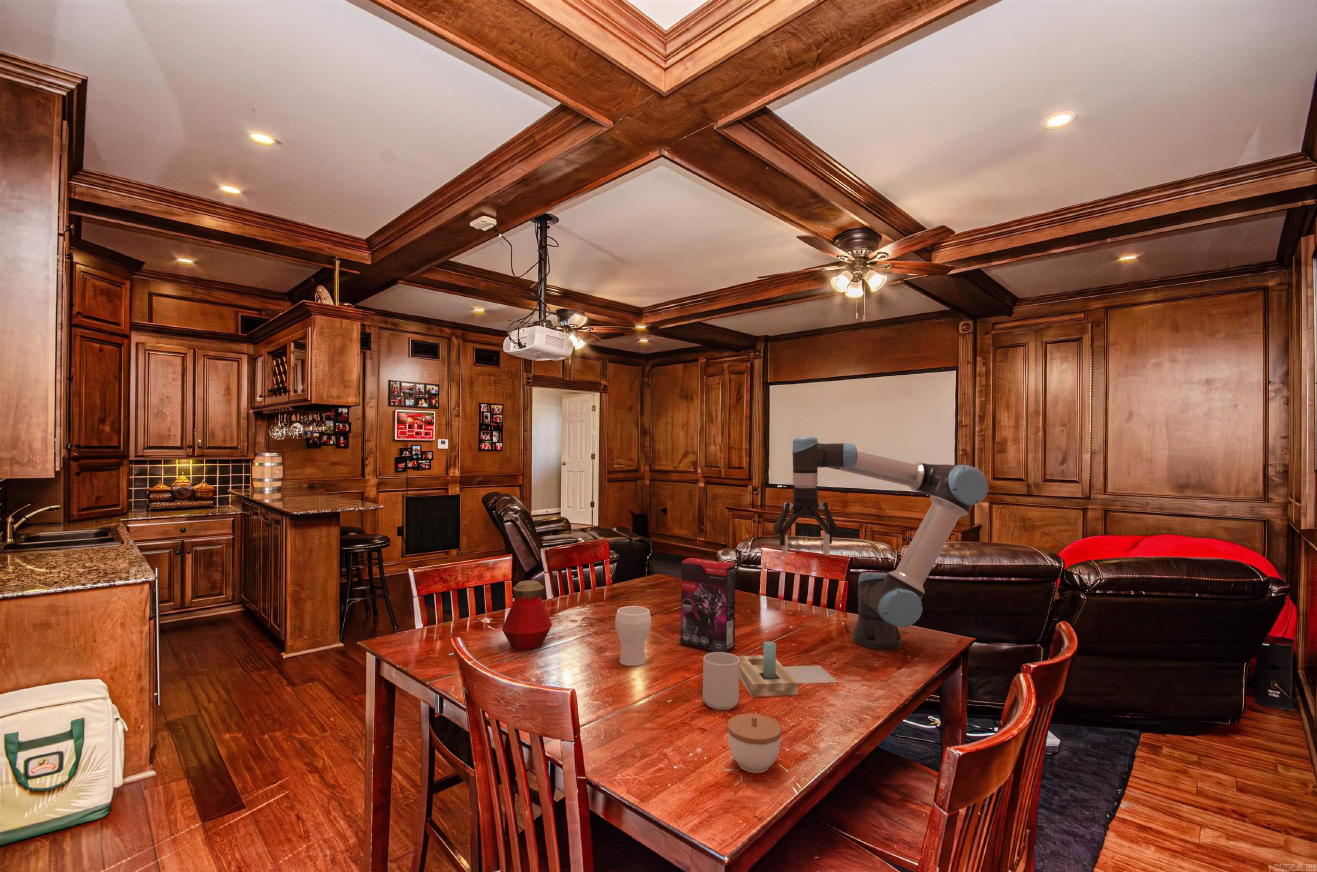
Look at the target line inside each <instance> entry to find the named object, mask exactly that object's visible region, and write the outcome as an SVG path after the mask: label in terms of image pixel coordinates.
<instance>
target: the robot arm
mask: <svg viewBox="0 0 1317 872" xmlns="http://www.w3.org/2000/svg"><path fill="white" fill-rule="evenodd" d="M791 452H792V453H791V454H792V485H793V486H794V487H793V488H792V503H789V502H786V501H785V502H783V503H782V510H781V512H780V514H779V517H778V519H777V521H776V523H775V525H774V527H773V530H772V531H773V533H776V534H778V535H779V536H778V538H779V540H778V541H779V542H778V544H779V546H781V549H782V551H781V555H782V556H783V557H785V558H789V545H788V543H789V541H788V540H789V537H788V536H789V535H788V534H787V533H788V531H789V530H790V529H791V528H792V526H793V525H794V524H795V523H796V522H797V520H798V519H799V518H807V517H808V518H814V520H815V521H816V522H817V523H818V524H819V526H820V527H821V528H822V529H823V531H824V532H823V533H822V534H823V536H822V538H823V539H822V540H823V541H822V543H823V549H822V550H823V555H825V556H830V555H831V554H830V552H831V551H830V547H831V546H830V545H832V544H833V535H834V533H837V532H838V531H839V529H838V527H837V524H836V523H835V521H834V520H835V519H834V518H833V516H832V514H831V512H830V510H829V505H828V502H826V501H821V502H818V501H819V489H818V487H817V486H819V485H818V484H819V480H818V479H819V477H818V476H819V474H818V472H819V468H829V469H831V470H832V469H833V470H838V471H841V472H846V473H851V474H855V475H860V476H864V477H868V478H872V479H876V480H880V481H886V482H888V483H890V482H891V483H893V484H899V485H901V486H906V487H909V488H910V490H911V491H913V492H914V491H915V492H919V493H922V494H926V495H928V496H929V499H930V502H931V505H930V507H929V508H928V509H927V512H926V514H925V515H924V518H923V519H922V521H921V523H920V524H919V526H918V528H917V530H916V532H915V534H914V536H913V537H912V540H911V541H910V544H909V545H908V546H907V548H906V550H905V552H904V554H903V556H902V558H901V559H900V561H899V563H898V565H897V567H896V569H894V570H892V571H889V572H877V571H876V572H875V571H874V572H873V571H872V572H871V571H869V572H867V571H866V572H861V573H860V574H859V575H858V581H857V584H858V597H857V598H858V611H857V613H858V616H857V621H856V622H855V623H856V624H855V625H854V629H853V632H852V642H854V643H855V644H857V645H859V646H861V647H863V648H867V649H872V650H878V651H879V650H881V651H894V650H898V649H900V648H902V637H901V633H900V631H899V628H906V627H909V626H912V625H914V624H916V622H917V621H918V620H919V619H920V618H921V616H922V613H923V605H922V599H923V597H924V595H925V593H926V592H925V588H924V583H925V581H926V580H927V578H928V576H929V574H930V573H931V571H932V568H933V566H934V565H935V563H936V561H937V559H938V557H939V555H940V554H941V552H942V550H943V548H944V546H945V545H946V543H947V541H948V539H949V538H950V535H951V533H952V532H953V530H954V528H955V526H956V525H957V522H958V521H959V519H960V518H961V517H965V516H967V515H969V512H970V511H971V509H972V507H973V505H977V504H979V503H981V502H982V501H983V500H984V499H985V498H986V497H987V494H988V492H989V491H988V490H989V483H988V481H987V478H986V476H985V474H984V473H983V472H982V471H981V470H980V469H979V468H977V467H974V466H971V465H966V464H931V463H924V462H920V461H919V462H918V461H917V462H915V463H912V462H911V463H910V462H905V461H901V460H897V459H895V458H888V457H884V456H880V455H876V454H871V453H866V452H863V451H858V449H857V447H856V445H855V444H854V443H846V442H843V443H841V442H840V443H839V442H838V443H821V442H820V443H819V442H818V438H817V437H815V436H814V437H813V436H809V437H808V436H807V437H806V436H804V437H803V436H798V437H795V438H793V440H792V451H791ZM792 509H793V511H792V513H791V514H790V517H789V518H788V519H787V517H788V515H789V512H790V511H791V510H792ZM818 509H820V510H821V513H823V514H822V515H823V516H824V518H825V520H826V522H825V520H824V518H823V517H822V516H821V515H820V513H819V512H818V511H817V510H818ZM785 521H786V522H785Z"/></svg>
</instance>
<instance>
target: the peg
mask: <svg viewBox="0 0 1317 872" xmlns="http://www.w3.org/2000/svg"><path fill="white" fill-rule="evenodd" d="M776 654H777V643H776V642H774V641H768V640H767V641H764V642H763V654H762V655H763V679H764V680H767V679H775V678H776V659H777V658H776V657H777V656H776Z"/></svg>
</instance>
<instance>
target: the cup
mask: <svg viewBox="0 0 1317 872" xmlns="http://www.w3.org/2000/svg"><path fill="white" fill-rule="evenodd" d="M614 620H615V622H614V623H615V624H614V625H615V631H616V634H617V636H618V639H619V641H620V647H621V649H620V656H619V663H620V664H621V665H622V666H628V667H637V666H642V665H644V664H645V663H646V662H647V661H646V652H645V646H646V640H647V639H648V636H649V634H650V631H651V628H652V616H651V612H650V609H649V608H647V607H644V606H638V605H637V606H636V605H632V606H631V605H629V606H624V607H619V608H618V609H617V611H616V615H615V619H614Z"/></svg>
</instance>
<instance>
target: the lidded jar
mask: <svg viewBox="0 0 1317 872" xmlns="http://www.w3.org/2000/svg"><path fill="white" fill-rule="evenodd" d="M726 725H727V726H726V727H727V728H726V729H727V740H728V741H727V742H728V748H729V751H730V755H731V756H732V758H733V759H734V760H735V762H736V764H738V766H739V767H740V768H741V770H744V771H745V772H748V773H753V774H762V773H765V772H767V771H768V770H769V769H770V767H771V766H773V765H774V764H775V762H776V761H777V759H778V757H779V753H780V750H781V743H782V726H781V724H780V723H779V722H778V721H776V720H775V719H773V718H772V717H769V716H768V715H767V716H766V715H763V714H757V713H742V714H736V715H735V716H731V718H729V719H728V721H727V724H726Z"/></svg>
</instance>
